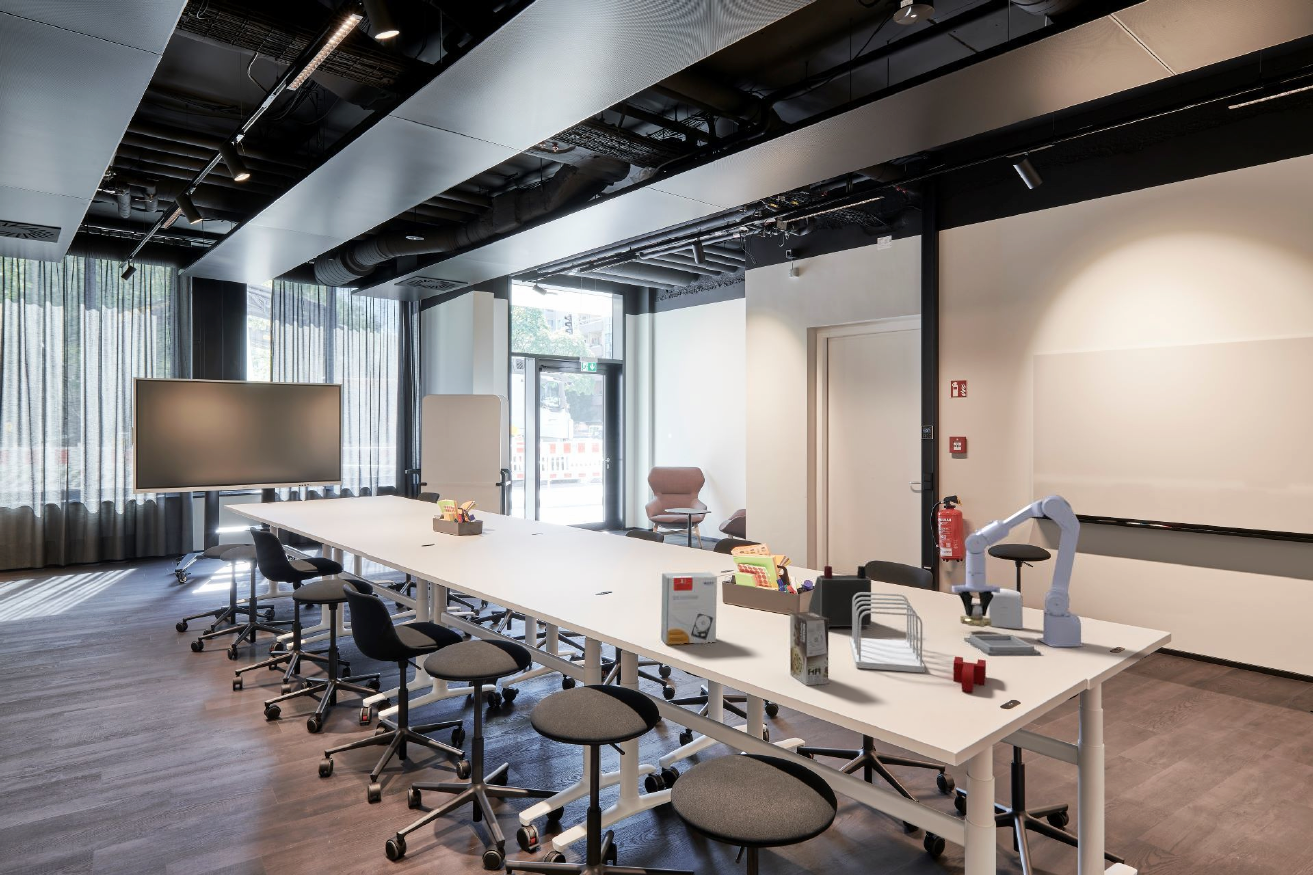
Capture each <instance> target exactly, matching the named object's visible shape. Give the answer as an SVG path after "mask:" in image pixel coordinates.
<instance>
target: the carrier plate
mask: <svg viewBox="0 0 1313 875" xmlns="http://www.w3.org/2000/svg"><path fill="white" fill-rule="evenodd" d="M963 641H964V642H966V643H967V642H968V643H967V644H969V643H970V644H969V645H971V646H972V645H973V646H972V647H974V648H976V649H977V648H978V649H977V650H979V649H980V650H981V651H980V650H979V651H980V652H982V653H984V654H985V655H987V656H1041V654H1042V652H1041V651H1040V650H1037V649H1035V646H1034V645H1032V644H1030V643H1029V642H1026V641H1024V640H1023V639H1020V638H1019V637H1017V636H1015V635H1013V634H971V635H970V634H969V637H964V638H963Z"/></svg>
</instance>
